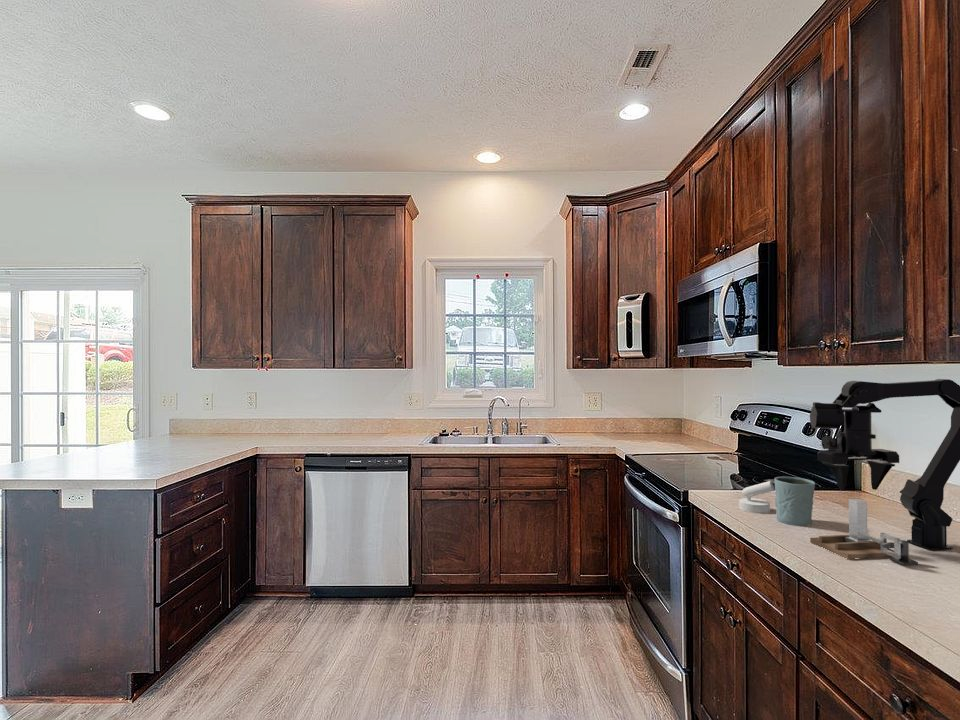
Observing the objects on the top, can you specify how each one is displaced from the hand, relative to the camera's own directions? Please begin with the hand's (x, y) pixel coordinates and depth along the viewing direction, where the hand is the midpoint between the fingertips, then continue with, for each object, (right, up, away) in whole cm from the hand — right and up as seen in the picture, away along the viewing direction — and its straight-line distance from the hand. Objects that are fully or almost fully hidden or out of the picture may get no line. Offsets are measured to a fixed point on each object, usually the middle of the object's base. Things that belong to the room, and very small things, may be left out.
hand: (858, 489), depth 138 cm
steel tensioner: (-4, -11, -11) cm, 17 cm away
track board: (-6, -13, -7) cm, 16 cm away
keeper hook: (-2, -13, -15) cm, 20 cm away
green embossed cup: (-7, -13, +16) cm, 22 cm away
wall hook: (-11, -14, +29) cm, 34 cm away
